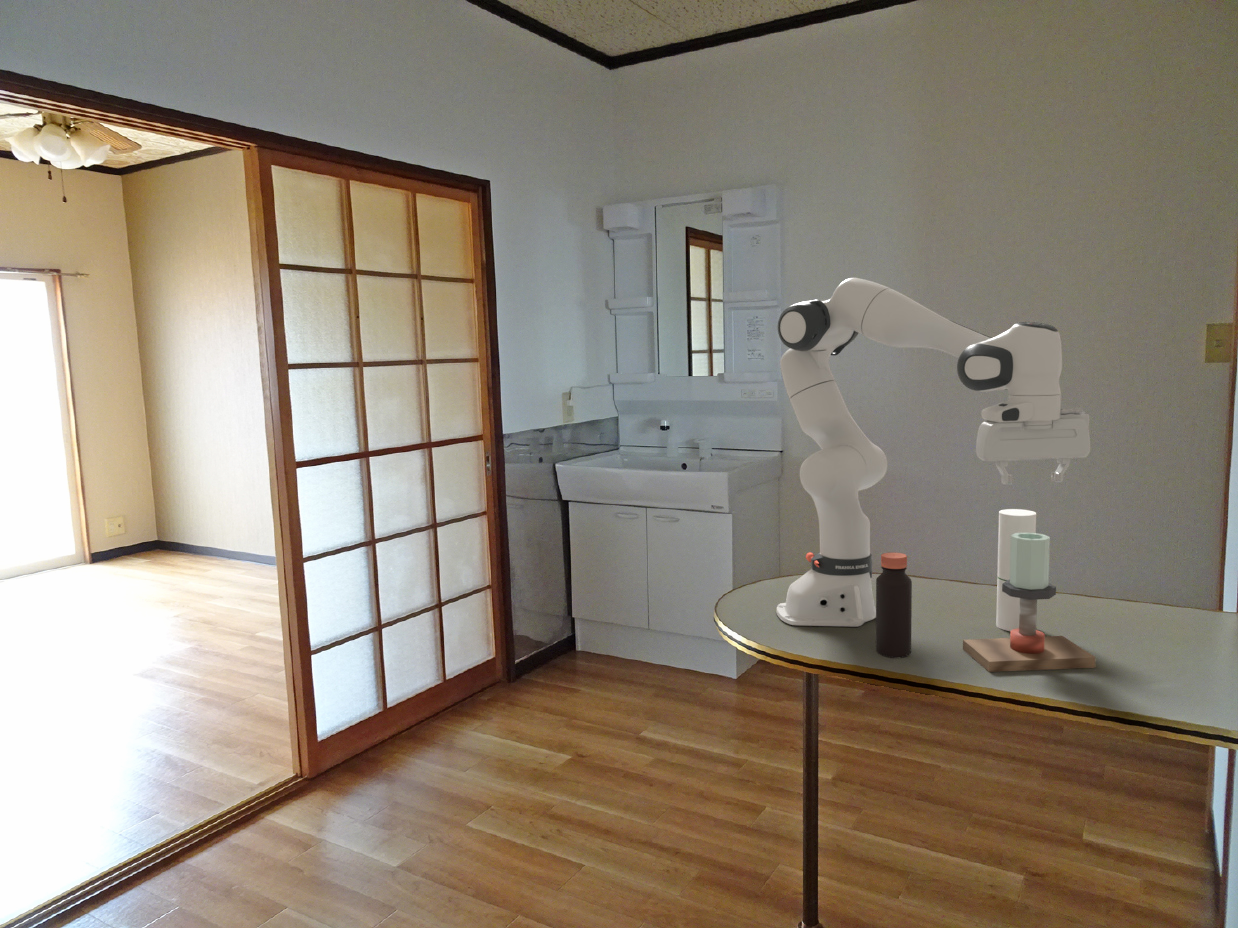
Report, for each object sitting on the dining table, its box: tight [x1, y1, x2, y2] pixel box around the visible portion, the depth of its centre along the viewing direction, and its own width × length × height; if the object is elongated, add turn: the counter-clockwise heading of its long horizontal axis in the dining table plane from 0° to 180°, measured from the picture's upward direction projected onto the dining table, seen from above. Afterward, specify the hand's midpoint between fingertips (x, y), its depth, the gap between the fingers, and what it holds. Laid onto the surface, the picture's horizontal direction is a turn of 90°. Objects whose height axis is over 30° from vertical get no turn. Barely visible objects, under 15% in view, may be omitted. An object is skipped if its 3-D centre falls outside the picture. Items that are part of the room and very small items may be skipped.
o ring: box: [1002, 579, 1057, 601], centre depth 166 cm, size 9×9×2 cm
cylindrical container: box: [995, 508, 1037, 632], centre depth 184 cm, size 7×7×25 cm
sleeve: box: [1010, 532, 1051, 590], centre depth 165 cm, size 6×6×10 cm
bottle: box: [875, 551, 913, 658], centre depth 172 cm, size 7×7×20 cm
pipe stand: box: [962, 598, 1097, 673], centre depth 166 cm, size 20×12×16 cm, turn 91°
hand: (1031, 483), depth 163 cm, fingers open, 8 cm apart
